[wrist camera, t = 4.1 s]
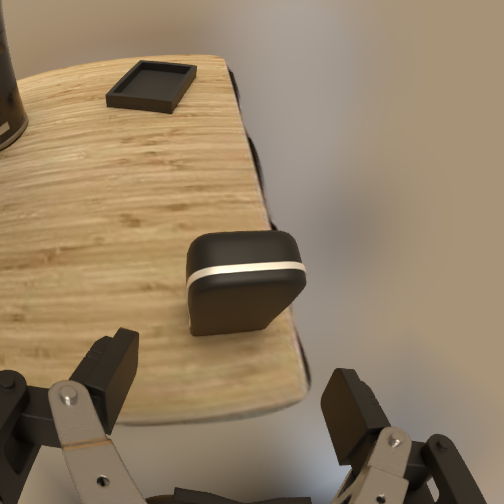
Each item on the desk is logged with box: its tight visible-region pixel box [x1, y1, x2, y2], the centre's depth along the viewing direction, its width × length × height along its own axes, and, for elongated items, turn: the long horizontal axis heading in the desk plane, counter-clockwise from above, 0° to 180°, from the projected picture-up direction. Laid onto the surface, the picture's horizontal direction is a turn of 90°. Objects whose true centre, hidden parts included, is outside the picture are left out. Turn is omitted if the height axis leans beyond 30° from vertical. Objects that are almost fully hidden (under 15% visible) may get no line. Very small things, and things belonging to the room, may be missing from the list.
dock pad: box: [106, 60, 197, 114], centre depth 39 cm, size 11×13×2 cm
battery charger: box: [186, 230, 307, 336], centre depth 21 cm, size 7×4×11 cm, turn 100°
